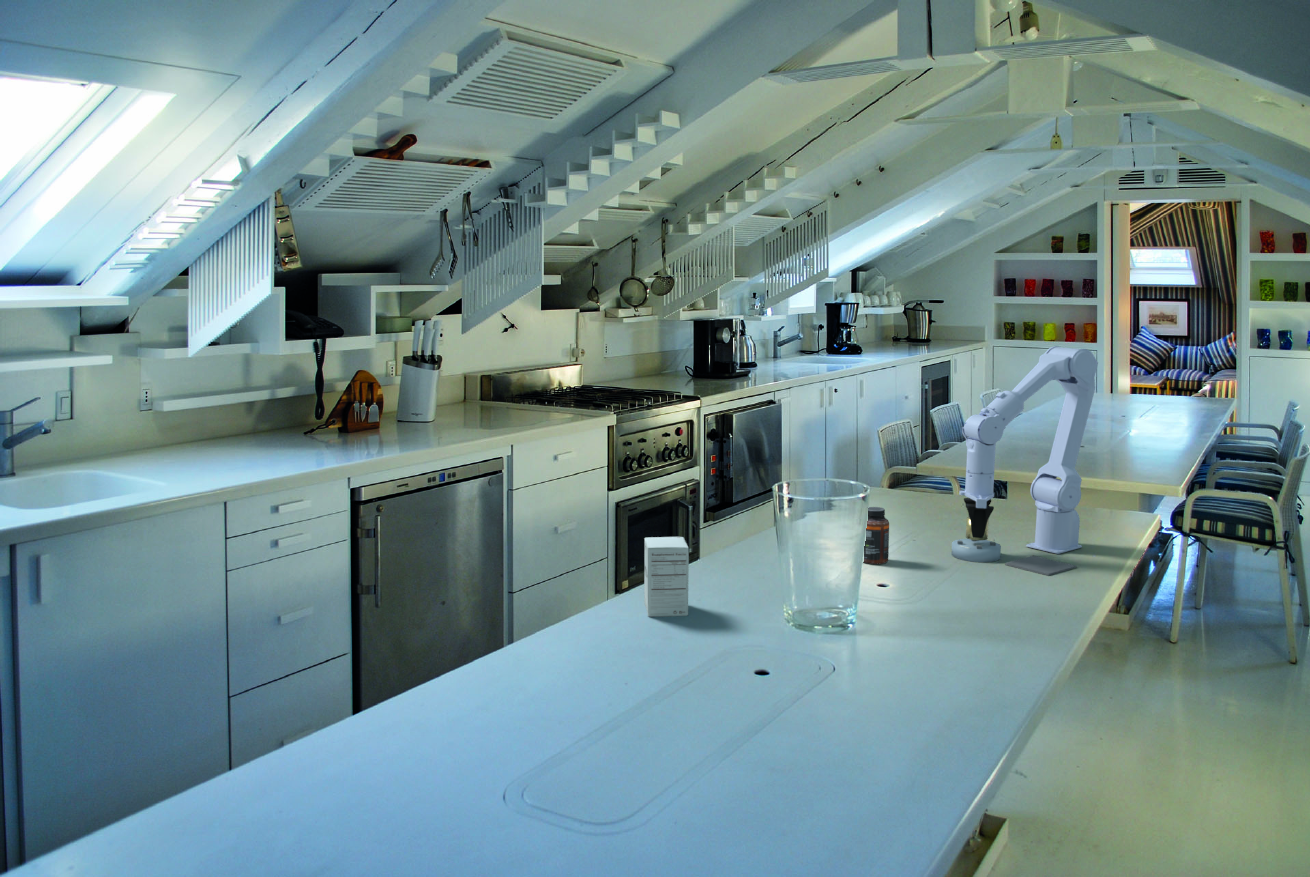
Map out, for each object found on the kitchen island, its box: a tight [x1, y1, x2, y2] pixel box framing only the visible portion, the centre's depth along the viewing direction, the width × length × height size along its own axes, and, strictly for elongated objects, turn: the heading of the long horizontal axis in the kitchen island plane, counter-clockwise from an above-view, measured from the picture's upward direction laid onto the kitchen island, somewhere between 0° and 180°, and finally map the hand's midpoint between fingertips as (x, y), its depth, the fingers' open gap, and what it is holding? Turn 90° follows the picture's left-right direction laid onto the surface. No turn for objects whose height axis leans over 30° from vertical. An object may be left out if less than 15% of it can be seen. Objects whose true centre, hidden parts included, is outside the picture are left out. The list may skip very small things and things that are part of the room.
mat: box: [1004, 555, 1077, 577], centre depth 218 cm, size 10×10×1 cm
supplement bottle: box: [863, 506, 890, 565], centre depth 221 cm, size 6×6×11 cm
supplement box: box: [643, 536, 690, 618], centre depth 188 cm, size 7×7×13 cm
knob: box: [965, 515, 990, 540], centre depth 225 cm, size 4×4×5 cm
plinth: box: [951, 538, 1002, 563], centre depth 226 cm, size 10×10×3 cm
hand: (976, 534), depth 226 cm, fingers closed on knob, 4 cm apart
